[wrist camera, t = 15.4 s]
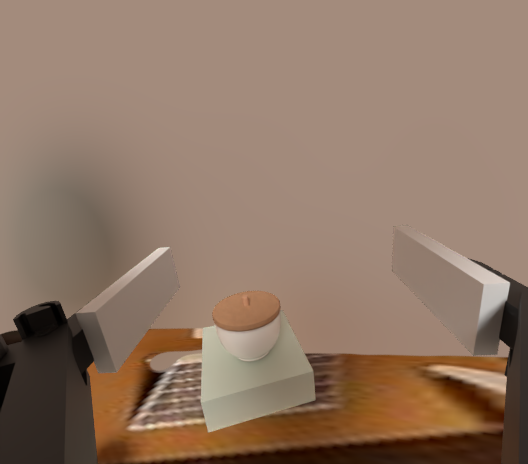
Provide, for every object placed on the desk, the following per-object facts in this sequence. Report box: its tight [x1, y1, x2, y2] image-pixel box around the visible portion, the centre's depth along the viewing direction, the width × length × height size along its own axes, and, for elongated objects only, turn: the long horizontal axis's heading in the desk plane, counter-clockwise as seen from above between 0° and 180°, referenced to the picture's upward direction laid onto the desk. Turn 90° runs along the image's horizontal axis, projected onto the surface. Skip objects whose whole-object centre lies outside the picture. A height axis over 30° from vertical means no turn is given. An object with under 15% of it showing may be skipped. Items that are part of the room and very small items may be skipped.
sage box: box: [201, 310, 316, 432], centre depth 44 cm, size 16×16×6 cm
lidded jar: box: [212, 291, 281, 362], centre depth 41 cm, size 11×11×9 cm
